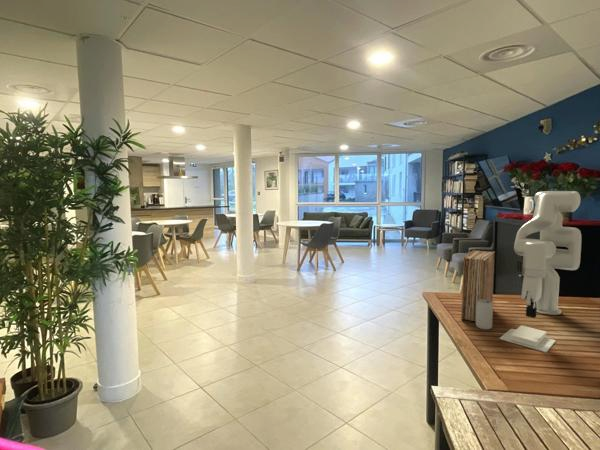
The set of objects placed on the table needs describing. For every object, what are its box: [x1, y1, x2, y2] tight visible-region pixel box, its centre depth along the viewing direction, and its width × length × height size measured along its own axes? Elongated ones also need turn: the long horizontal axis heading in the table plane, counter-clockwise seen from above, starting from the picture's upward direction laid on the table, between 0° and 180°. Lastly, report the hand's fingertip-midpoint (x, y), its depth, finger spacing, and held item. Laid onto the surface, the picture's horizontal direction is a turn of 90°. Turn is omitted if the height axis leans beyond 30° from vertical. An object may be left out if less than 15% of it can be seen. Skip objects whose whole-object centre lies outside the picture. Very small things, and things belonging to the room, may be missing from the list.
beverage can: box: [475, 299, 494, 331], centre depth 151 cm, size 6×6×12 cm
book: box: [460, 248, 496, 323], centre depth 167 cm, size 25×9×30 cm, turn 143°
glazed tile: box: [510, 324, 547, 347], centre depth 139 cm, size 2×9×14 cm
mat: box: [499, 328, 557, 353], centre depth 139 cm, size 14×16×1 cm
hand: (530, 316), depth 140 cm, fingers closed
